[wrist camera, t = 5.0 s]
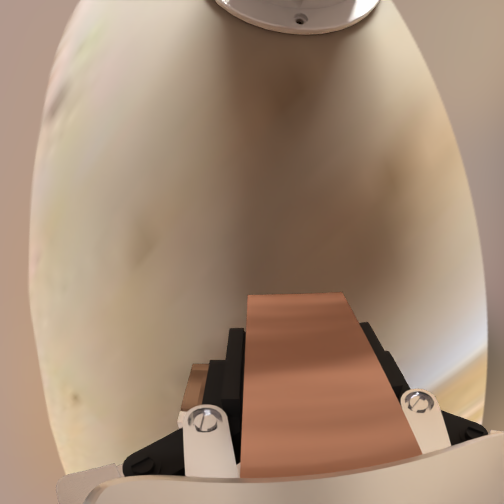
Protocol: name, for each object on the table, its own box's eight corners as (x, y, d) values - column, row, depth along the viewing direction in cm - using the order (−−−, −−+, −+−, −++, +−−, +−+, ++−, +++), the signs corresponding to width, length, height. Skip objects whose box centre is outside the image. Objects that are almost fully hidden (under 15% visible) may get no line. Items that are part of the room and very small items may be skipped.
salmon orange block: (247, 295, 13) (237, 539, 4) (342, 292, 13) (443, 505, 4) (250, 369, 15) (246, 574, 5) (332, 365, 14) (386, 556, 5)
